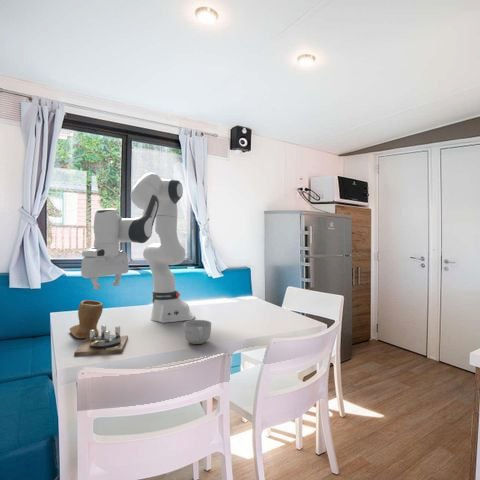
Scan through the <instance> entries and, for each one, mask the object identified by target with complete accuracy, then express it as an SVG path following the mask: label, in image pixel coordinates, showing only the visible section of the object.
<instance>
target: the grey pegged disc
mask: <svg viewBox="0 0 480 480" xmlns="http://www.w3.org/2000/svg"><path fill="white" fill-rule="evenodd" d="M100 326H101V327H100V333H101V335H97V336H95V330H90V346H91V347H93V348H106V347H112V346H115V345H117V344H119V343H120V342H121V337H120V336H121V326H118V325H117V326H115V327H114V334H111V333H110V332H111V331H110V330H107V325H106V324H104V325H100Z"/></svg>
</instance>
